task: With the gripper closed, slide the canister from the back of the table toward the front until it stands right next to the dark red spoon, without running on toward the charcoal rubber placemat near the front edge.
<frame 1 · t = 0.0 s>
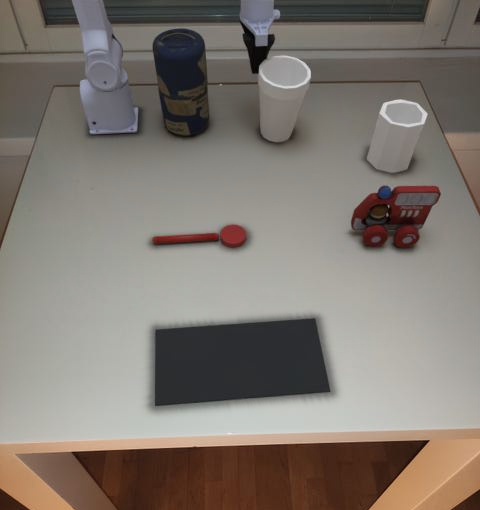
hand: (255, 65, 91), 11 cm above the table, tool pointing down, fingers open, 4 cm apart
toy fire truck: (383, 233, 82), on the table
canister: (186, 125, 98), on the table
spoon: (203, 239, 80), on the table
foam cup: (275, 132, 96), on the table, touching gripper
placemat: (239, 359, 68), on the table
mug: (386, 153, 93), on the table
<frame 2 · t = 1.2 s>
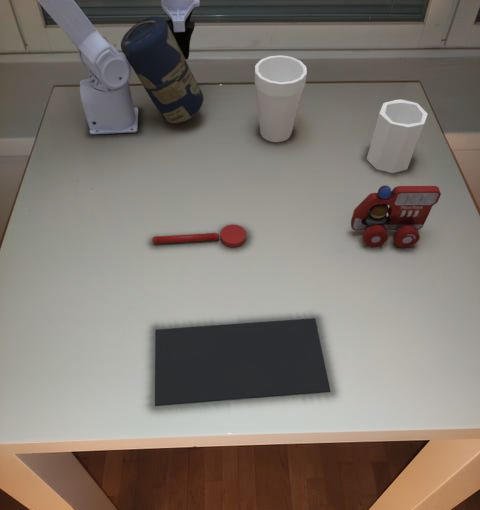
hand: (182, 51, 95), 10 cm above the table, tool pointing down, fingers open, 4 cm apart
canister: (185, 111, 97), point 2 cm above the table, touching arm, gripper
foam cup: (275, 133, 97), on the table
everything else where it was.
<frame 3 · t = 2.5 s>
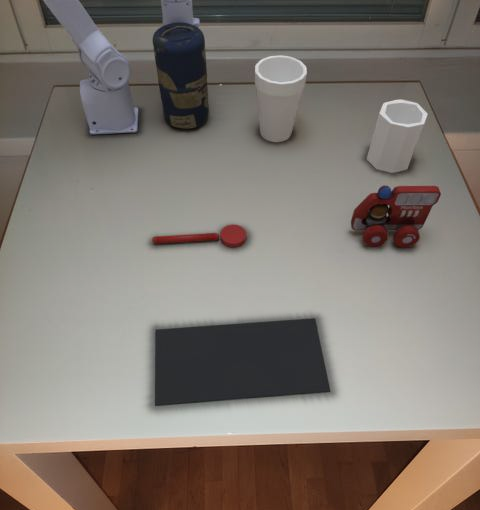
hand: (183, 68, 98), 6 cm above the table, tool pointing down, fingers closed
canister: (186, 119, 99), on the table
everything else where it was.
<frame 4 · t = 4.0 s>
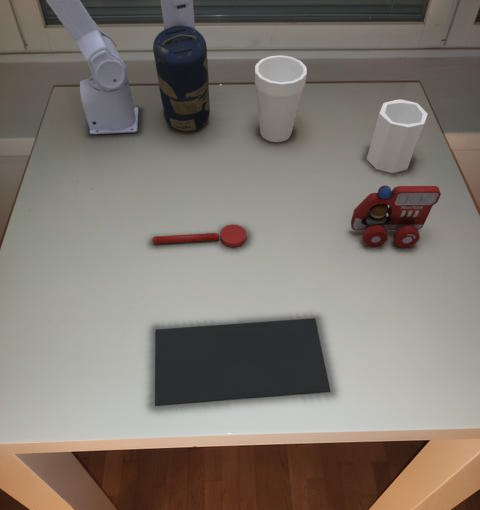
hand: (186, 94, 99), 3 cm above the table, tool pointing down, fingers closed, pressing on canister
canister: (187, 117, 98), point 1 cm above the table, touching gripper
everything else where it was.
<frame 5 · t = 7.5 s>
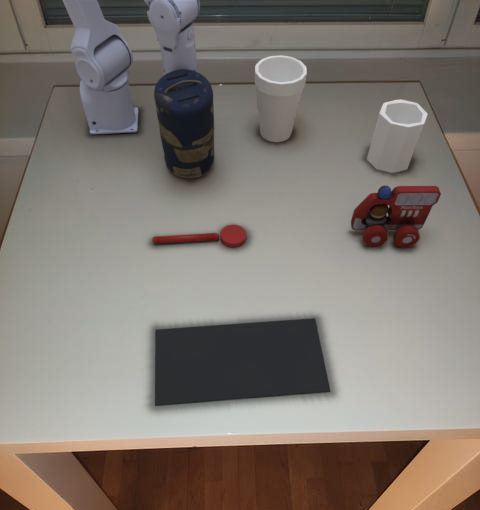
hand: (187, 137, 91), 3 cm above the table, tool pointing down, fingers closed, pressing on canister
canister: (189, 162, 90), point 1 cm above the table, touching gripper
everything else where it was.
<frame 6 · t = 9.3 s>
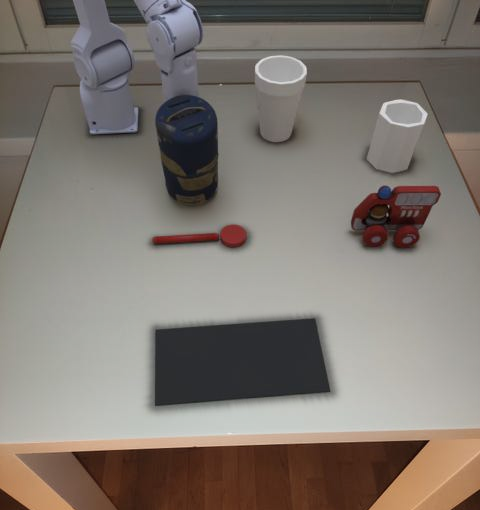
hand: (188, 161, 87), 3 cm above the table, tool pointing down, fingers closed, pressing on canister
canister: (191, 188, 86), point 1 cm above the table, touching gripper
everything else where it was.
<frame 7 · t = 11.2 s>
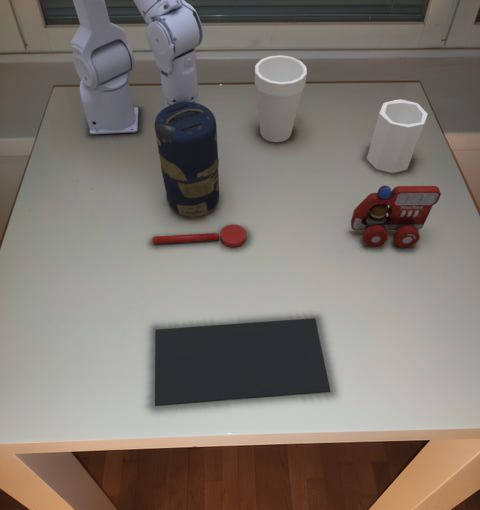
hand: (187, 162, 88), 2 cm above the table, tool pointing down, fingers closed
canister: (193, 202, 86), on the table
everything else where it was.
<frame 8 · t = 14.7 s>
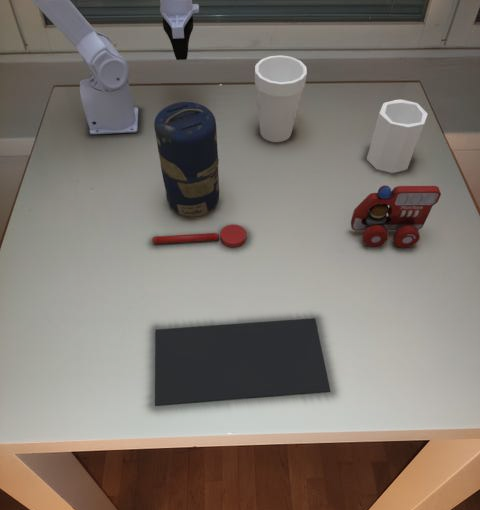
hand: (181, 58, 94), 9 cm above the table, tool pointing down, fingers closed
nothing on the table moved.
at the end: canister inside the target area (1.9 cm from its centre), on the table; canister 9.4 cm from the spoon (horizontally); canister touching table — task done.
